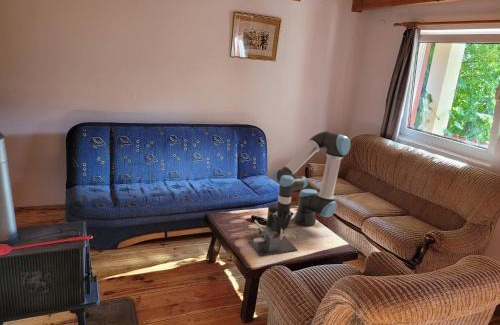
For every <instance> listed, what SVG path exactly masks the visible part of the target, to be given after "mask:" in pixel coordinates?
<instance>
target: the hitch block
mask: <svg viewBox="0 0 500 325" xmlns="http://www.w3.org/2000/svg"><path fill="white" fill-rule="evenodd" d="M261 227H262V229H263V230H264V232H265V233H264V234H263V233H262V232H261V231H260V229H259V228H258V234H259V235H258V238H262V237H264V240H266V242H262V243H253V239H250V240H248V243H249V244H250V246H251V245H252V246H251V247H252V248H253V250H254V251H255V252H256V254H257V255H258V256H259V257H260V258H261V257H267V256H273V255H281V254H286V253H287V254H288V253H294V252H298V248H297V247H296V246H295V245H294V244H293V243H292V242H291V241H290V240H289V239H288V238H287V237H286V236H285V235H283V236H282V240H280V241H279V239H280V238H279V236H278V235H277V234H276V233H275V232H274V231H273V230H272V229H271V228H270V227H266V226H261Z"/></svg>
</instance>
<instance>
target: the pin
mask: <svg viewBox="0 0 500 325" xmlns="http://www.w3.org/2000/svg"><path fill="white" fill-rule="evenodd" d="M274 232H275V233H276V234H277V235H278V236H279V238H280V235H279V234H278V233H277V232H276V231H274ZM252 240H253V243H262V242H266V240H264V237H262V238H259V237H257V238H256V237H255V238H253V239H252ZM279 241H280V239H279Z"/></svg>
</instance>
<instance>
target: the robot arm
mask: <svg viewBox="0 0 500 325" xmlns="http://www.w3.org/2000/svg"><path fill="white" fill-rule="evenodd" d="M321 150H326V151H325V155H326V163H325V167H324V171H323V176H322V180H321V186H320V189H319V190H320V191H317V190H316V189H313V188H312V189H311V188H307V186H308V184H309V183H308V182H309V181H308V179H307V177H306V176H304V175H299V176H297V175H295V174H296V173H297V172H298V170H299V169H300V168H301V167H302V166H303V165H305V164H306V162H307V161H308V160H309V159H311V157H312V156H314V154H316V153H318V152H320V151H321ZM350 150H351V141H350V137H348V136H346V135H343V134H340V133H337V132H332V131H320V132H318V133H317V134H314V135H313V136H311V138H309V139H308V141H307V144H305V145H304V147H302V148H301V149H300V150H299V151H298V153H296V154H295V155H294V156H293V157H292V158H291V160H289V161H288V163H286V164H285V165H284V166H283V167H282V168H281V169H280V168H276V169H275V170H274V171H273V172H272V179H273V180H274V181H275V182H276V183H279V188H278V189H279V190H278V196H277V197H278V199H277V210H276V213H273V214H272V215H273V216H274V224H275V228H276V229H278V231H277V233H278V234H279V235H280V240H282V236H284V234H285V230H286V229H287V228H289V225H290V221H291V219H292V216H293V215H294V212H293V211H291V204H292V198H293V197H292V195H293V192H295V191H299V190H300V192H299V195H298V201H297V202H298V203H297V210H296V212H295V215H294V216H293V222H294V223H295V224H297V225H299V226H302V227H303V226H304V227H313V226H315V225H316V222H317V219H316V215H315V214H317V215H319V216H321V217H325V218H330V217H331V216H333V215H334V214H335V212H336V210H337V208H338V203H337V202H336V201H335V199H336V196H335V195H334V194H335V188H336V183H337V180H338V174H339V171H340V166H341V162H342V161H341V160H342V159H344V158H345V156H346V155H348V154H349V152H350ZM277 214H278V217H279V219H277Z"/></svg>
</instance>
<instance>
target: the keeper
mask: <svg viewBox="0 0 500 325" xmlns="http://www.w3.org/2000/svg"><path fill="white" fill-rule="evenodd" d="M254 223H255V224H256V226H257V227H258V230H259V229H260V231H261V232H262V233H263V234H264V233H265V232H264V230H263V229H262V227H263V226H262V225H261V224H260V223H259V222H258V220H257V219H254Z"/></svg>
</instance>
